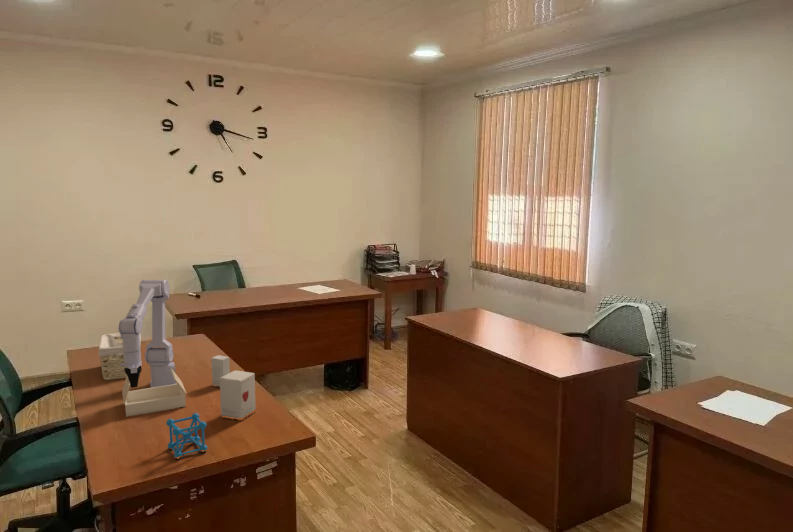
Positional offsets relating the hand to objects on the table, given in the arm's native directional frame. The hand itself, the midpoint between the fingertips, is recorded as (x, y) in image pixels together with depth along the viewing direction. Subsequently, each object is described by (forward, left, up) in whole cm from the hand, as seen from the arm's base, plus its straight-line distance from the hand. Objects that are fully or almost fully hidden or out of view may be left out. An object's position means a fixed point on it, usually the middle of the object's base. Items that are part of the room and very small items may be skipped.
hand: (134, 387), depth 205 cm
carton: (-7, -1, -8) cm, 11 cm away
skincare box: (-33, -11, -9) cm, 35 cm away
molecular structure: (-13, +42, -9) cm, 45 cm away
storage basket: (+3, -48, -9) cm, 49 cm away
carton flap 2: (-15, -1, -1) cm, 15 cm away
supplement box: (-33, +22, -9) cm, 41 cm away
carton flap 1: (+2, -1, 0) cm, 3 cm away
